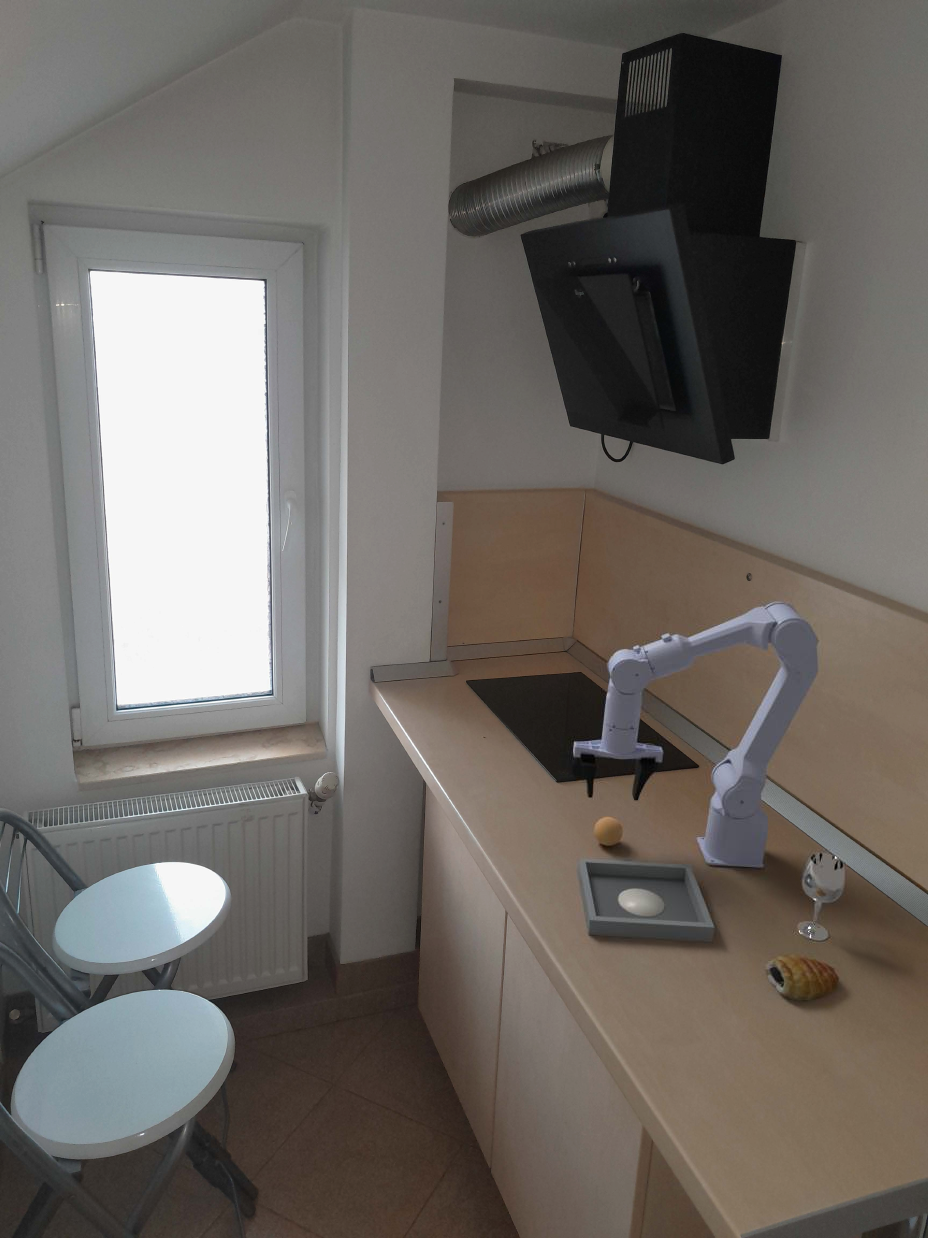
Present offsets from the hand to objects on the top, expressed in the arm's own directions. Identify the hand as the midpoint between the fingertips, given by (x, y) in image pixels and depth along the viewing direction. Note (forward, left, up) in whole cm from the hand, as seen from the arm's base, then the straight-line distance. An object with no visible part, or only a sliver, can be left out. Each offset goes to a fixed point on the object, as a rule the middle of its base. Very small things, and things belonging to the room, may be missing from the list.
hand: (612, 796), depth 152 cm
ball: (0, 0, -7) cm, 7 cm away
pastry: (-22, +33, -10) cm, 41 cm away
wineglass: (-28, +21, -9) cm, 36 cm away
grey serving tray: (-3, +17, -9) cm, 20 cm away
